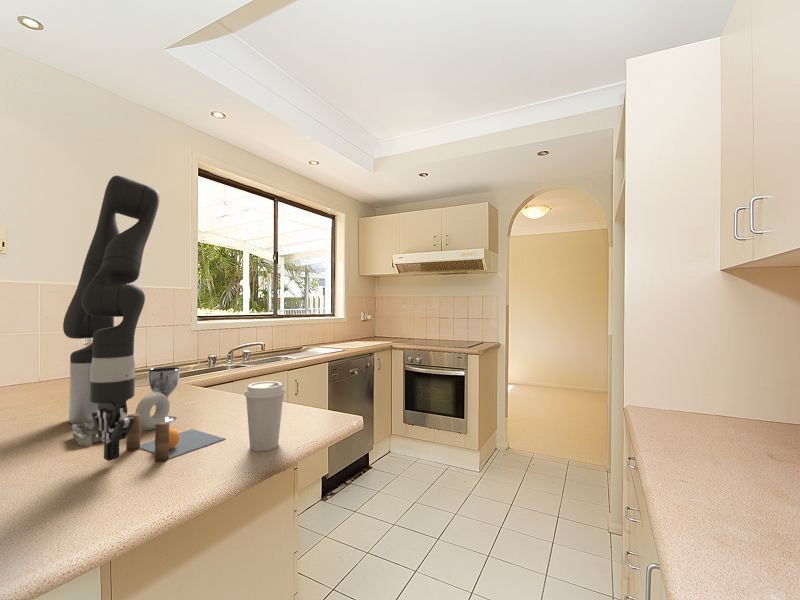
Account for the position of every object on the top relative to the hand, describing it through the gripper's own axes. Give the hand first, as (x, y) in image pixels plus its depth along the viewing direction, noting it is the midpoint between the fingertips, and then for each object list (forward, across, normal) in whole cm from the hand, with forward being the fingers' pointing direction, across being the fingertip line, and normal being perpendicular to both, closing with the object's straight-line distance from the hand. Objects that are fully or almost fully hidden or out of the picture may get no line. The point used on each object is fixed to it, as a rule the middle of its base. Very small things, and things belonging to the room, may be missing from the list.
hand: (111, 458), depth 79 cm
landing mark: (+2, 0, -15) cm, 15 cm away
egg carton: (+2, +22, -5) cm, 23 cm away
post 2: (+2, -6, -7) cm, 9 cm away
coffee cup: (+2, -19, -24) cm, 31 cm away
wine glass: (+2, +23, -23) cm, 33 cm away
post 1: (+2, +6, -7) cm, 9 cm away
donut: (+2, +17, -17) cm, 24 cm away
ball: (-1, -1, -11) cm, 11 cm away
